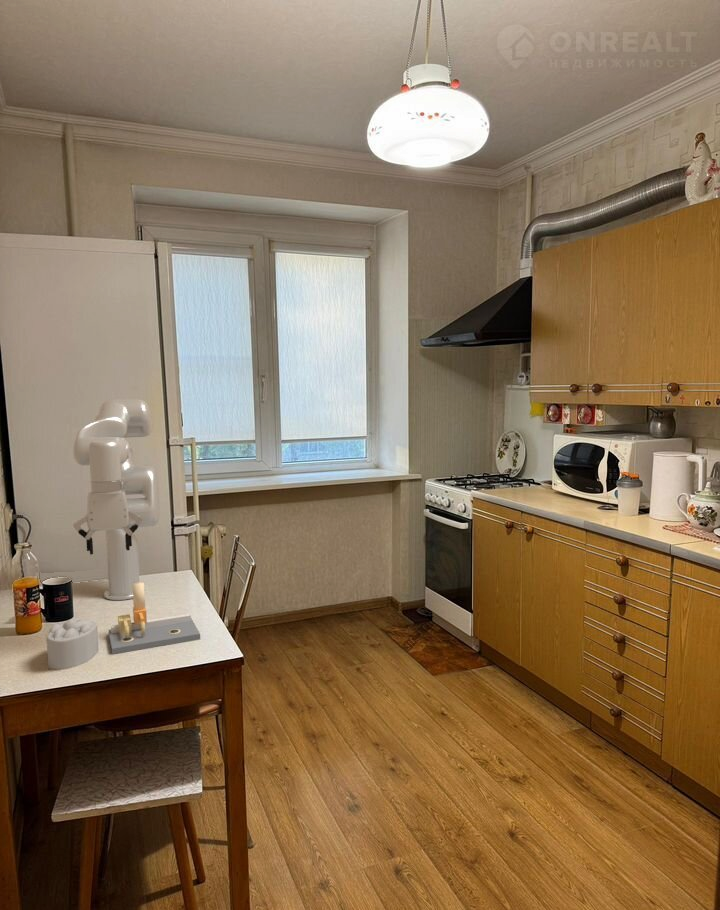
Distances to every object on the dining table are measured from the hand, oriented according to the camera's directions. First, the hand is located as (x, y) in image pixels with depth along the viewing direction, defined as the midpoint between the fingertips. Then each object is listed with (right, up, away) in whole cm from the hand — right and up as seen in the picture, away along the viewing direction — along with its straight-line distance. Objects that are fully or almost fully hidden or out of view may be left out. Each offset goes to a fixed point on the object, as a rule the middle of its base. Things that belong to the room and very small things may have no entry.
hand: (109, 551), depth 167 cm
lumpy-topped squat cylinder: (-5, -26, -10) cm, 28 cm away
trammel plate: (+11, -24, +3) cm, 26 cm away
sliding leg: (+7, -22, +3) cm, 23 cm away
